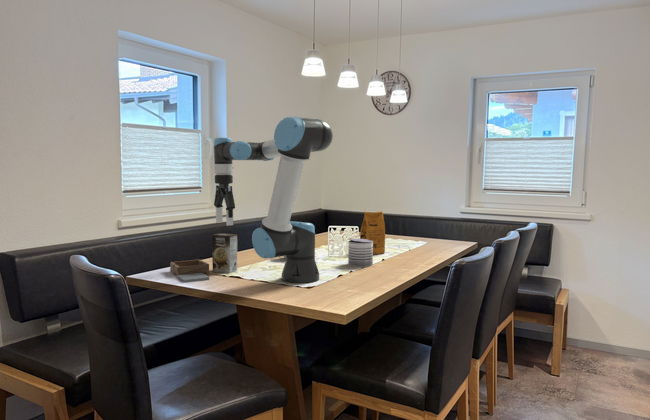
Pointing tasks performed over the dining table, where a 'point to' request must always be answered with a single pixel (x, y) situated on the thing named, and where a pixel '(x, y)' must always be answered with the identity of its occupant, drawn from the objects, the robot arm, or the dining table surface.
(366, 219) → the coffee package
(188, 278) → the pad
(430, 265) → the dining table surface
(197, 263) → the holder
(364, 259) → the can
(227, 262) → the coffee box
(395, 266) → the dining table surface
